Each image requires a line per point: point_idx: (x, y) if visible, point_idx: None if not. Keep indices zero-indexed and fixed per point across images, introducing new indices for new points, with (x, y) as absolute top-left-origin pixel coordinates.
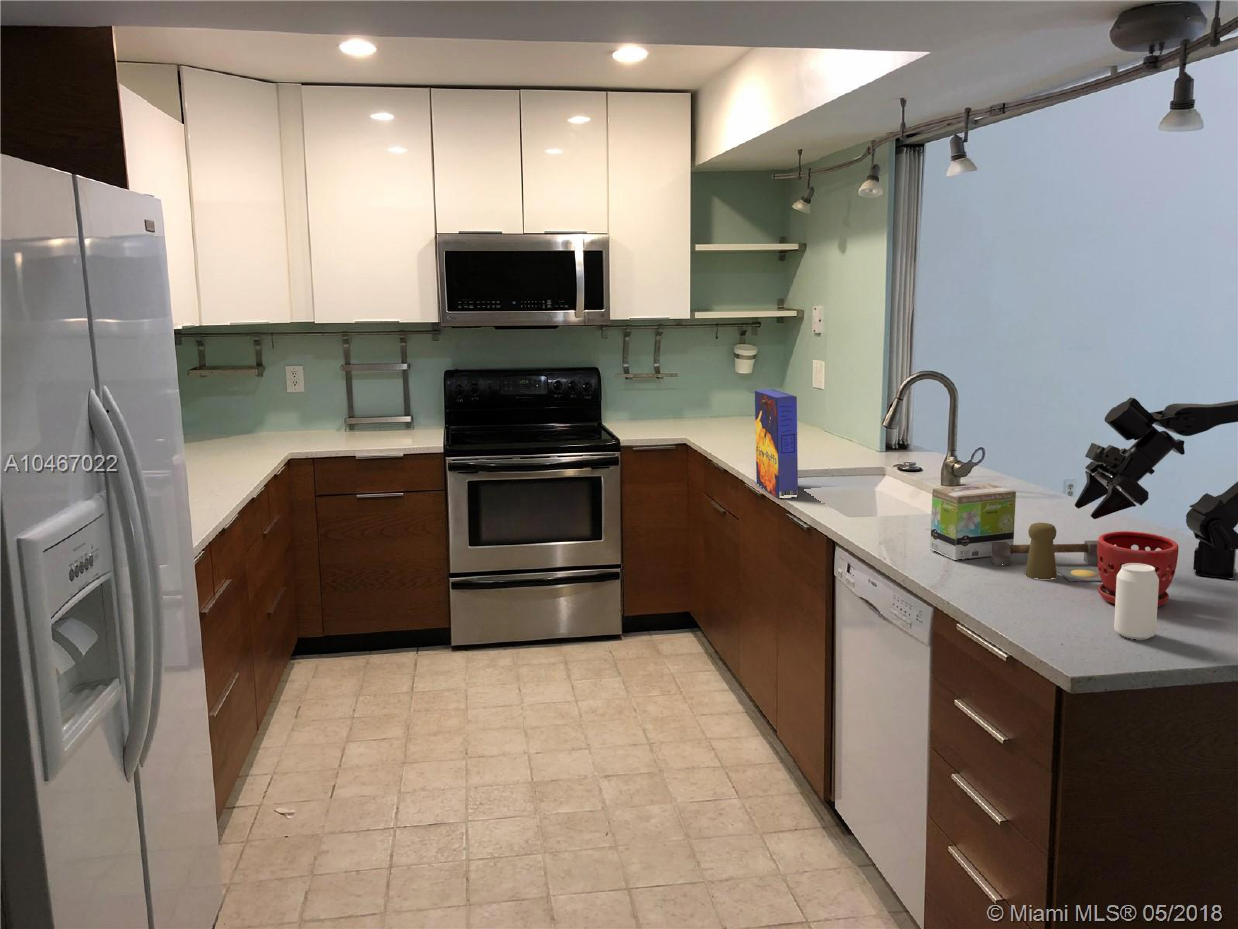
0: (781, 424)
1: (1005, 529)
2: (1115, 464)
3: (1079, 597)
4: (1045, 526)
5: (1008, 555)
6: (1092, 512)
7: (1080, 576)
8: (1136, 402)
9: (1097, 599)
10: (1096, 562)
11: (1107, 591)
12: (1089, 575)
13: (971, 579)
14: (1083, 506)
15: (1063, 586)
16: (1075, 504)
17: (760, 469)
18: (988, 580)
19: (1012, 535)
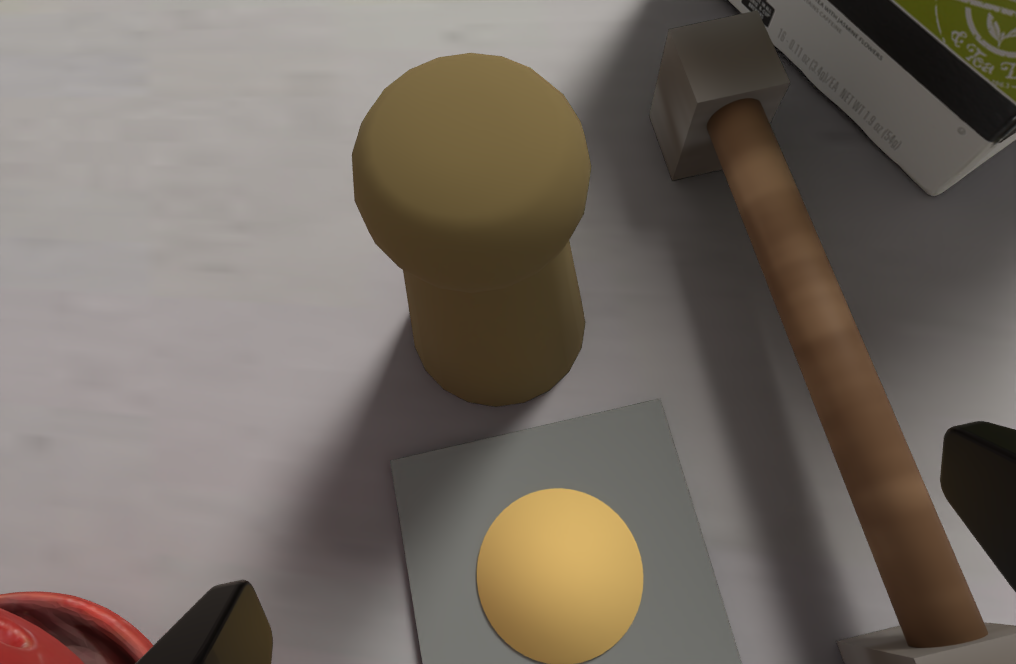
0: None
1: (977, 40)
2: None
3: (106, 490)
4: (383, 149)
5: (681, 136)
6: (215, 612)
7: (483, 540)
8: None
9: (68, 587)
10: None
11: (77, 656)
12: (514, 601)
13: (382, 25)
14: (996, 566)
15: (306, 425)
16: (958, 429)
17: None
18: (375, 88)
19: (994, 118)
